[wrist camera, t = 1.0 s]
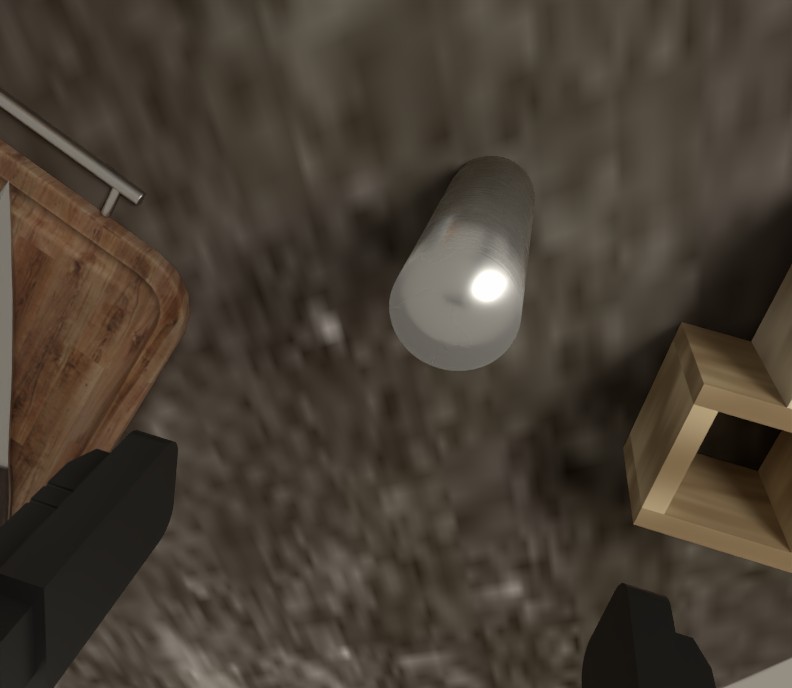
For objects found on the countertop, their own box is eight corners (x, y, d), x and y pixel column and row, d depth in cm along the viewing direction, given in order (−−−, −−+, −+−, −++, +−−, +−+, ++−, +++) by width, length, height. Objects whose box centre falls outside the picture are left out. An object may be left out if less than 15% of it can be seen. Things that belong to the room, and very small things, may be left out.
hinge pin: (459, 145, 32) (404, 232, 21) (546, 169, 32) (538, 270, 20) (438, 228, 34) (377, 349, 23) (520, 251, 34) (499, 385, 22)
